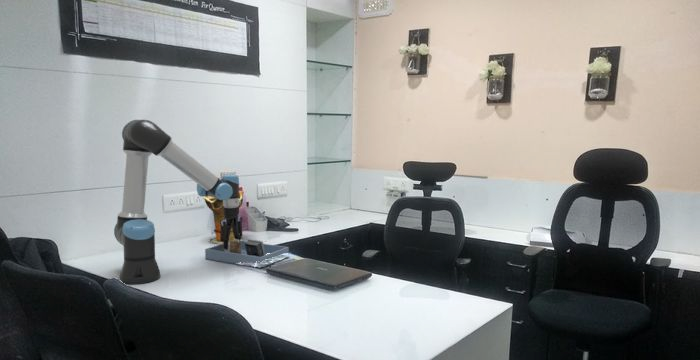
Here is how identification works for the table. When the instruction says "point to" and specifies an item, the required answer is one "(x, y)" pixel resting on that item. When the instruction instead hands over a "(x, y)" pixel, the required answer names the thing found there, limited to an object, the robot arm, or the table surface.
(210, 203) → the decorative vase
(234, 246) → the walnut cube
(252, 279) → the table surface
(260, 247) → the electrical switch
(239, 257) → the tray
